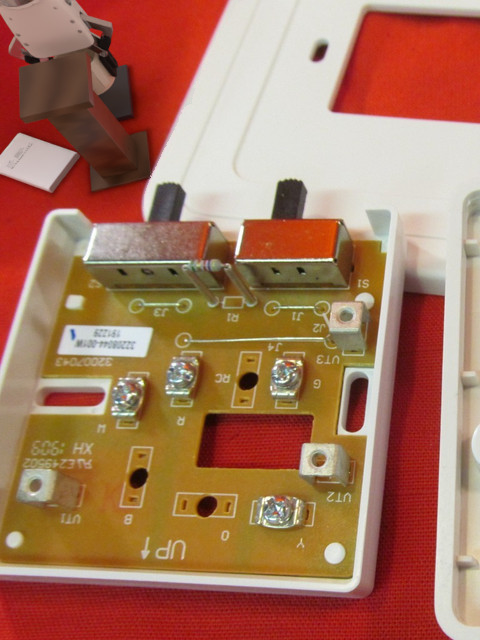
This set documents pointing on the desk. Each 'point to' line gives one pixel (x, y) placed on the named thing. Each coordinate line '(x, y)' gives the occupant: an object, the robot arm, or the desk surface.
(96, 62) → the cup
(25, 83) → the stand
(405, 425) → the desk surface
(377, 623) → the desk surface
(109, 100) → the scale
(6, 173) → the hard drive
